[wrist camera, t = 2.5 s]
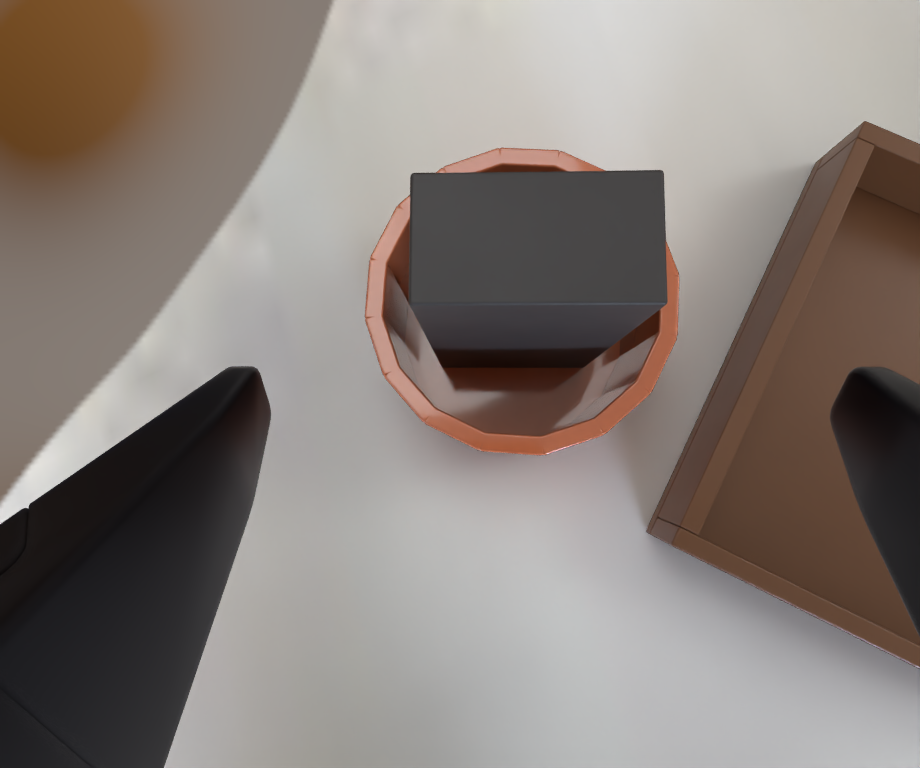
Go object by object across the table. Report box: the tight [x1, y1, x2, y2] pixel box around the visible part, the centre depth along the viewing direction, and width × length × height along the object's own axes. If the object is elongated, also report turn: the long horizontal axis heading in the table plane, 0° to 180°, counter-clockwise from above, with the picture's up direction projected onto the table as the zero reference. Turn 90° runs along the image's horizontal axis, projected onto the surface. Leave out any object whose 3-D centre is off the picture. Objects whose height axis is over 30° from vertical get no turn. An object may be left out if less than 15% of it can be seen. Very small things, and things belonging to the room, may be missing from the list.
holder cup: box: [365, 148, 679, 455], centre depth 18 cm, size 8×8×5 cm
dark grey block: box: [409, 170, 668, 368], centre depth 16 cm, size 3×5×9 cm, turn 90°
